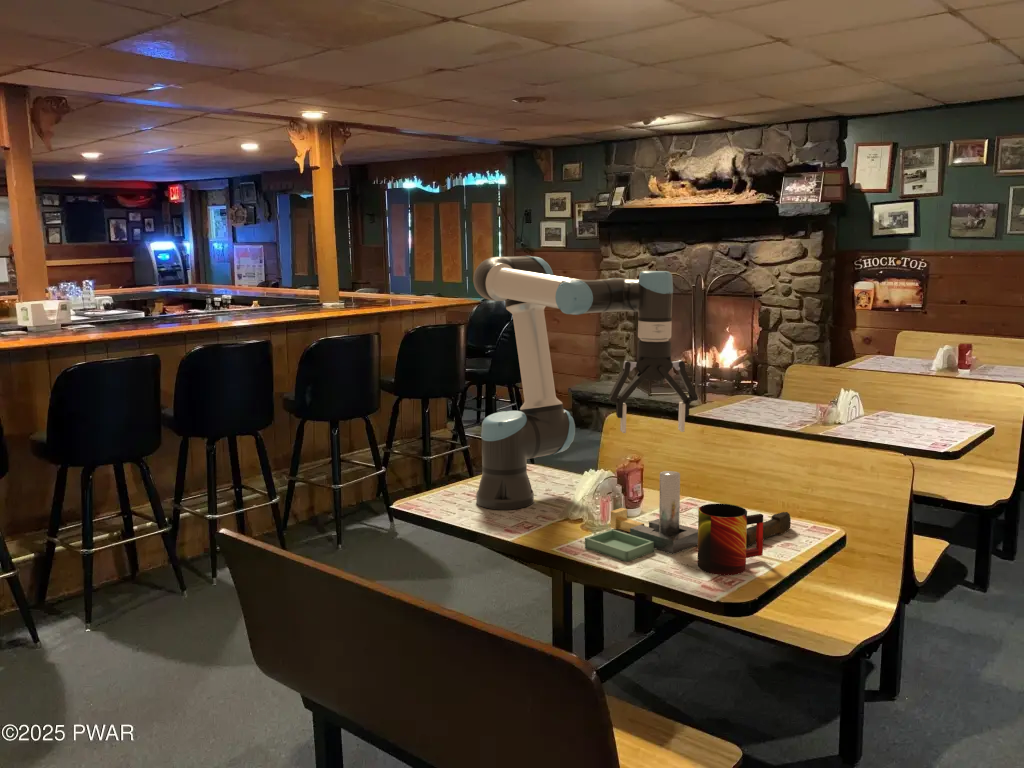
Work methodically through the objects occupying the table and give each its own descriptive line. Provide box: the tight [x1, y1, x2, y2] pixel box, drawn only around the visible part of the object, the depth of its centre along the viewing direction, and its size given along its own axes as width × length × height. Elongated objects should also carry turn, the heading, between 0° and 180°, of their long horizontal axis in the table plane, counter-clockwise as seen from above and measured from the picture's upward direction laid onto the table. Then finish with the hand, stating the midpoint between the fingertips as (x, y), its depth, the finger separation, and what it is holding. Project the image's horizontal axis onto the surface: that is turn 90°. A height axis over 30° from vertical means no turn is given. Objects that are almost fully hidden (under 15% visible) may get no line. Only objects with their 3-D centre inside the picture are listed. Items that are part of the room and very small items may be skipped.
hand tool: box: [746, 511, 792, 549], centre depth 188 cm, size 19×4×5 cm, turn 126°
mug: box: [696, 503, 764, 576], centre depth 172 cm, size 10×14×12 cm
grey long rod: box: [658, 470, 681, 536], centre depth 185 cm, size 4×4×16 cm
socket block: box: [629, 518, 698, 555], centre depth 186 cm, size 12×10×3 cm
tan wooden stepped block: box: [610, 507, 645, 533], centre depth 194 cm, size 8×4×4 cm, turn 41°
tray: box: [584, 528, 655, 563], centre depth 182 cm, size 12×9×2 cm
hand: (652, 431), depth 193 cm, fingers open, 13 cm apart
